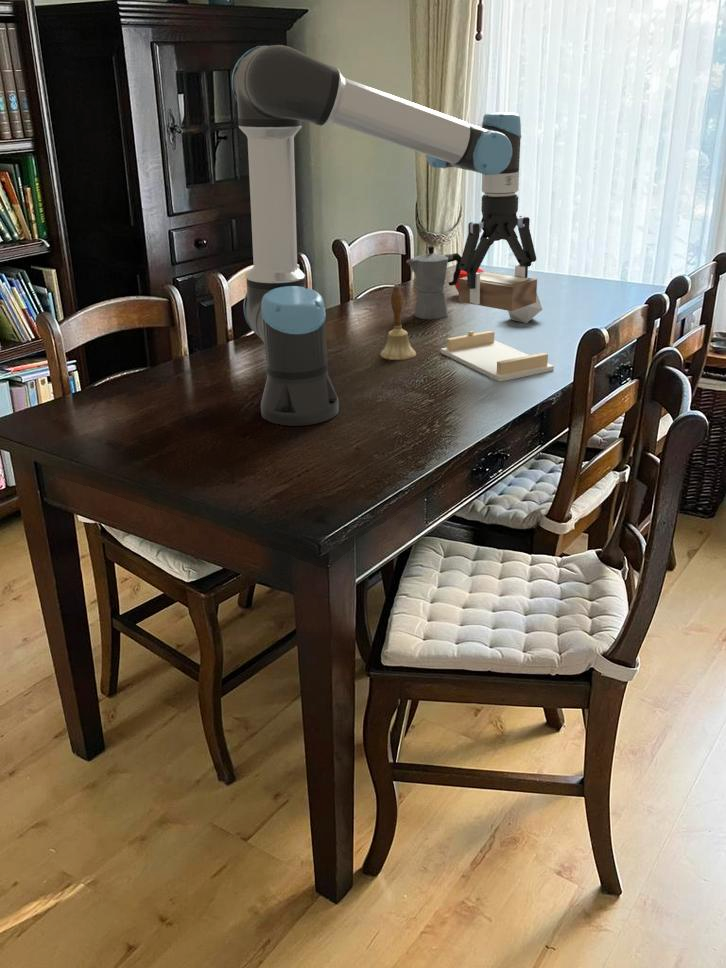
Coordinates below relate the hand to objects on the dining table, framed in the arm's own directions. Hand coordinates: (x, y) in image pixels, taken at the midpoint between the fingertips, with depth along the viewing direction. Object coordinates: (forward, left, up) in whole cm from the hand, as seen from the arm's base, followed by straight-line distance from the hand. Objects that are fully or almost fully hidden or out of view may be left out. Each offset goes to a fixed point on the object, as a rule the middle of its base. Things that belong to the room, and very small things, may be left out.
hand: (497, 299), depth 195 cm
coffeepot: (+9, +42, -14) cm, 45 cm away
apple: (+27, +54, -14) cm, 62 cm away
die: (+25, +25, -14) cm, 38 cm away
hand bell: (-16, +16, -14) cm, 27 cm away
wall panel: (0, 0, -14) cm, 14 cm away
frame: (0, 0, -1) cm, 1 cm away
